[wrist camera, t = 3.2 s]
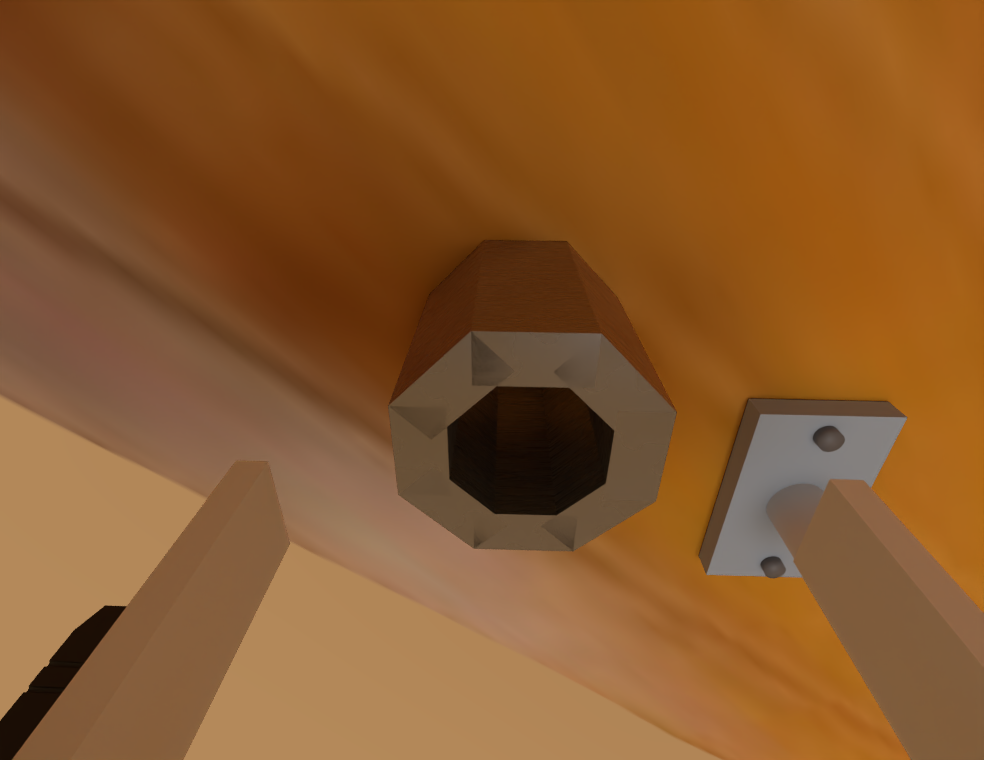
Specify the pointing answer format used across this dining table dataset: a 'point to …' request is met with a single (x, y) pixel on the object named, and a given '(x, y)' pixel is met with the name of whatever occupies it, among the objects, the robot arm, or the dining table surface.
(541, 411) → the tube
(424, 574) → the dining table surface
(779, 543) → the shaft stand
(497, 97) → the dining table surface
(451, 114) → the dining table surface
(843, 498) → the robot arm
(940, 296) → the dining table surface
